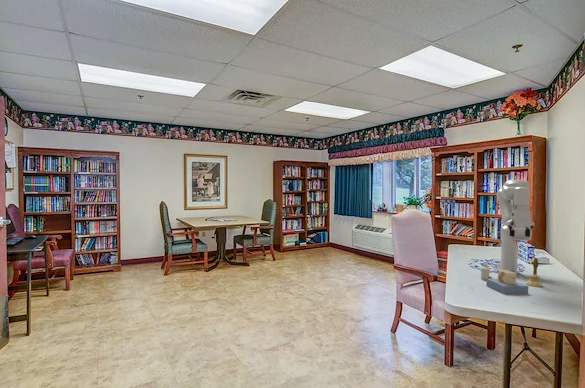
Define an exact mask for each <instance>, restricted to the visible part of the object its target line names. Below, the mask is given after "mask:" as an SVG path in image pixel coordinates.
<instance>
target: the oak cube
mask: <svg viewBox="0 0 585 388" xmlns="http://www.w3.org/2000/svg"><path fill="white" fill-rule="evenodd" d="M497 272H498V273H497V274H498V275H497V279H498V281H500V282H502V283H504V284H516V282H517V274H516V273H514V272H511V271H509V270H498V269H497Z"/></svg>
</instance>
